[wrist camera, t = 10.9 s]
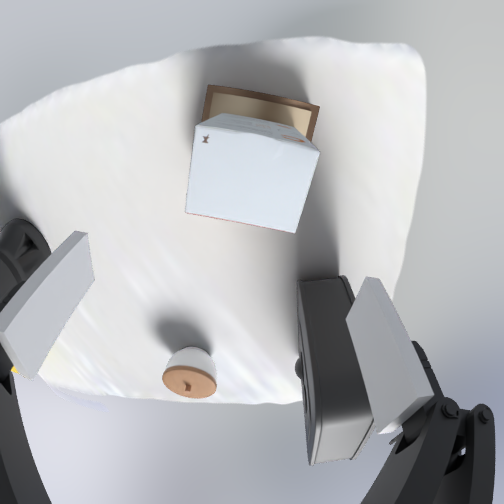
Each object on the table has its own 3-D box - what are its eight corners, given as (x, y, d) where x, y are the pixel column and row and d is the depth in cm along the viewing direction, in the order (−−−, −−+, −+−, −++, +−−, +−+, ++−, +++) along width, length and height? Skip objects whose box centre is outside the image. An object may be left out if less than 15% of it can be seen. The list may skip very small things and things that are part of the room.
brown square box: (201, 173, 37) (191, 188, 32) (216, 86, 31) (207, 84, 26) (289, 190, 38) (294, 207, 33) (310, 105, 32) (320, 106, 26)
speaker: (332, 359, 56) (351, 466, 35) (292, 363, 57) (300, 473, 36) (340, 261, 44) (389, 400, 22) (286, 266, 44) (302, 415, 23)
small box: (211, 167, 30) (181, 214, 19) (221, 111, 27) (193, 122, 16) (283, 181, 31) (296, 236, 20) (297, 127, 28) (322, 148, 17)
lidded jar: (178, 369, 60) (170, 403, 52) (163, 339, 54) (152, 375, 46) (224, 370, 59) (220, 405, 51) (214, 338, 53) (207, 377, 45)
